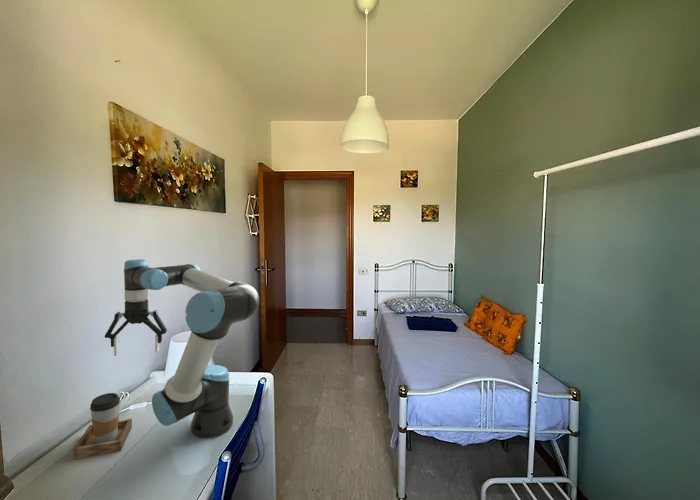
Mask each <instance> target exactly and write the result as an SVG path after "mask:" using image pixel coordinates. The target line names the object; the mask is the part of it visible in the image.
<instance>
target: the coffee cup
mask: <svg viewBox="0 0 700 500" xmlns="http://www.w3.org/2000/svg"><path fill="white" fill-rule="evenodd" d="M120 403H121V400H120V396H119V394H118V393H115V392H110V393H109V392H108V393H103V394H101V395H100V394H99V395H98V396H95V398H93V399H92V401H91V404H90V405H89V407H90V408H89V410H90V413H91V414H90V415H91V425H92V426H93V434H94V441H95V443H96V444H98V443H104V442H110V441H113V440H114V439H115V438H116V436H117V431H118V421H119V416H120V412H119V411H120Z"/></svg>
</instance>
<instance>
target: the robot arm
mask: <svg viewBox="0 0 700 500" xmlns="http://www.w3.org/2000/svg"><path fill="white" fill-rule="evenodd" d="M148 263H149V262H148V261H147V260H146V259H128V260H126V261H124V268H123V280H124V281H123V282H124V284H123V285H124V300H125V301H124V312H120V311H117V312H116V313H114V317H113V320H112V322H111V323H110V325H109V327H108V329H107V331H106V332H105V334H104V338H106V339H110V346H111V347H112V348H113V356H117V355H118V354H119V353H120V352H119V351H120V349H119V348H120V347H119V346H120V345H119V342H120V339H119V336H117V335H118V334H120V332H121V331H123V330H124V329H125V327H126V326H127V325H128V324H131V325H134V324H138V325H139V324H142V323H143V324H144V325H145V326H147V327H148V328H149V329H150V330H151V331H153V332H154V333H155V334H156V335H155V336H154V338H155V339H154V340H155V341H154V345H155V347H154V348H155V349H154V350H155V353H159V350H160V344H161V343H162V341H163V336H162V335H164V334H166V333H167V331H168V329H167V327H166V325H165V323H164V322H163V321H162V319H161V317H160V316H159V312H158V310H157V309H155V310H152V311H149V299H148V298H149V290H151V291H159V290H162V289H163V288H165V287H169V286H170V287H171V286H177V285H183V286H186V287H188V288H191V289H192V290H195V291H197V292H198V293H196V294H194V295H192V297H190V299H189V300H188V301H187V304H186V306H185V311H184V313H185V322H186V325H187V327H188V328H189V330H190V332H191V333H190V335H189V337H188V340H187V342H186V345H185V347H184V350H183V353H182V355H181V358H180V361H179V363H178V365H177V368H176V370H175V373H174V375H173V376H171V377H169V379H167V380H166V382H165V385H164V386H163V387H164V388H163V389H162V390H158V391H157V392H155V393H154V394H153V395H152V397H151V406H152V407H151V408H152V410H153V414H154V415H155V418H156V419H157V421H158V422H159V423H160V424H161V425H162V426H166V427H168V426H170V425H173V424H176V423H178V422H179V421H181V420H183V419H185V418H187V417H189V416H190V415H192V414H193V416H192V420H191V423H190V432H191V434H192V435H193V436H195V438H198V439H199V438H200V439H211V438H215V436H216V437H218V435H219V436H221V435H223V434H225V433H227V432H228V431H229V430H230V429H231V428H232V426H233V424H234V415H233V411H232V409H231V407H230V404H229V402H230V401H229V400H230V399H229V398H230V392H229V391H230V374H229V373H230V372H229V370H228V368H227V367H226V366H223V365H218V364H217V365H216V364H210V365H209V363H210V361H211V360H212V356H213V354H214V352H215V350H216V347H217V345H218V343H219V341H220V340H222V339H224V338H225V337H226V336H227V335H228V332H229V330H230V329H231V326H232V325H233V324H236V323H239V322H243V321H246V320H249V319H250V318H251V317H253V315H255V313H256V312H257V310H258V308H259V305H260V296H259V293H258V291H257V290H256V288H254V287H253V285H250V284H249V283H247V282H243V281H240V280H236V281H231V280H228V279H226V278H224V277H220V276H217V275H215V274H212V273H209V272H207V271H204V270H201V269H200V268H201V267H199V265H197V264H194V263H192V264H191V263H186V264H178V265H169V266H158V267H149V264H148ZM149 316H151V317H152V318H153V320H154V321H155V322H156V324H155V323H154V322H153V321H152V320H151V319H150V318H149ZM122 318H124V319H125V321H124V322H123V323H122V325H120V326H119V328H117V330H116V331H114V329H115V328H116V326H117V324H118V322H119V320H120V319H122ZM113 331H114V333H113ZM230 427H231V428H230ZM224 432H225V433H224ZM222 433H223V434H222ZM220 434H221V435H220Z"/></svg>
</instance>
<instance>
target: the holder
mask: <svg viewBox="0 0 700 500" xmlns="http://www.w3.org/2000/svg"><path fill="white" fill-rule="evenodd" d="M132 428H133V418H128V419H127V418H126V419H121V420H118V431H117V436H116V438H115V439H114V440H113V441H110V442H104V443H98V444H96V443H95V441H94V434H93V426H92V424H89V425H88V427H87V429H86V430H85V431H84V432H83V435H82V436H81V438H80V439H79V441H77V444H76V445H75V447H74V448H73V450H72V451H73V460H78V459H83V458H89V457H95V456H100V455H106V454H111V453H116V452H121V451H122V450H123V448H124V445H125V443H126V441H127V439H128V437H129V435H130V433H131V430H132Z"/></svg>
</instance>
